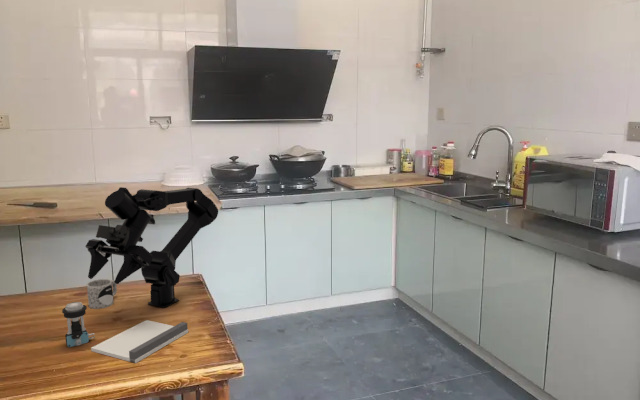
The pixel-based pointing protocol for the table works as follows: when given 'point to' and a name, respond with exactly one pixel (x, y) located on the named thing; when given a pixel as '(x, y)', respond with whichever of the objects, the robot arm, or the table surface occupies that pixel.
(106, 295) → the mug
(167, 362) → the table surface
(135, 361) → the marker board
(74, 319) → the push button
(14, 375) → the table surface
